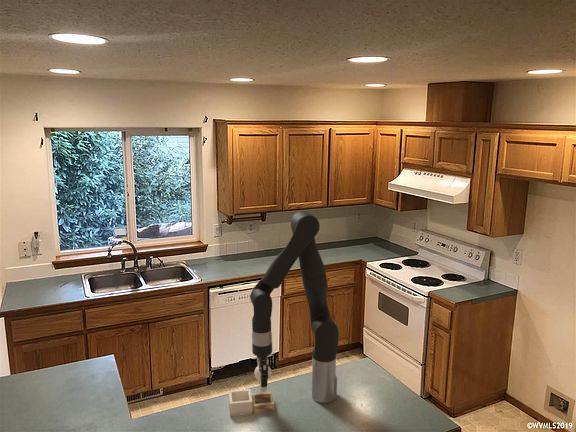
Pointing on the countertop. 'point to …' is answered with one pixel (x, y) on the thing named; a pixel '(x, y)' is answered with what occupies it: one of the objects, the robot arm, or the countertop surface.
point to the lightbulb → (258, 374)
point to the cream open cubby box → (240, 402)
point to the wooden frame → (264, 406)
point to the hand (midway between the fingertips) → (263, 381)
